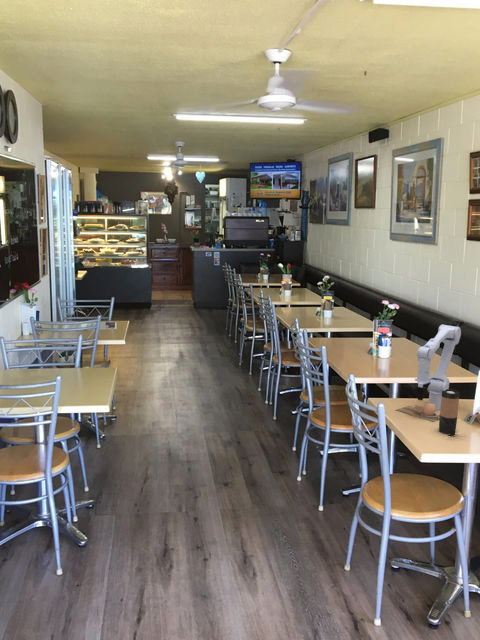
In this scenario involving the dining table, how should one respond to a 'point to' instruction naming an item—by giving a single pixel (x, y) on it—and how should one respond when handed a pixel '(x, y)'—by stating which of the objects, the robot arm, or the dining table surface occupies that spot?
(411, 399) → the dining table surface
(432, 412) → the cylinder with stick handle
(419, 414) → the board
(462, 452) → the dining table surface
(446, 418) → the travel mug
